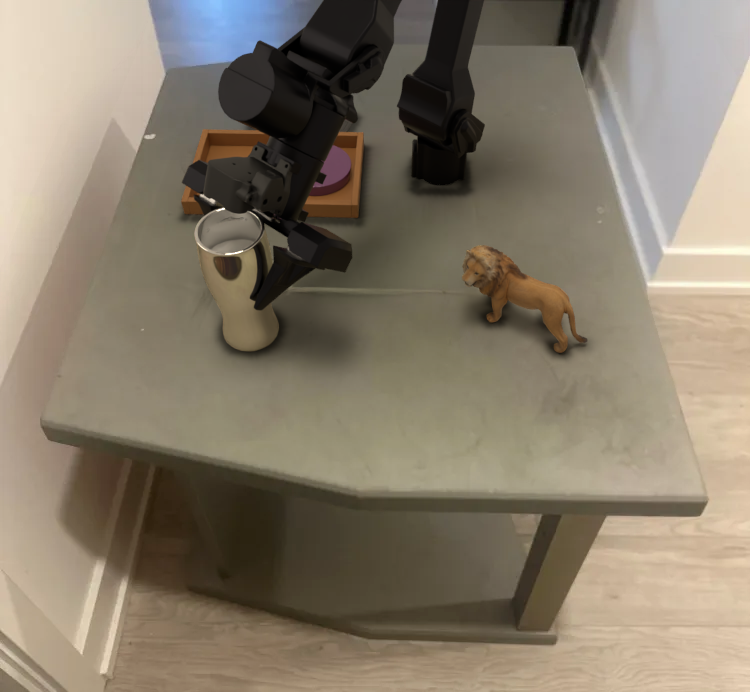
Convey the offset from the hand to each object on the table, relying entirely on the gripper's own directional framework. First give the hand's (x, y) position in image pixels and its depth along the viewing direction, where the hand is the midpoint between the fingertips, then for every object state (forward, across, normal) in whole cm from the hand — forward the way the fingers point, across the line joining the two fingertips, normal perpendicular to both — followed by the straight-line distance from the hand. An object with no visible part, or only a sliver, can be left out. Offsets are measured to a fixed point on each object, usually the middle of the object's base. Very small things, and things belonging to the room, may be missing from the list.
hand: (231, 291), depth 75 cm
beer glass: (+4, 0, +6) cm, 8 cm away
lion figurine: (-9, +22, +20) cm, 31 cm away
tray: (-10, -15, +20) cm, 27 cm away
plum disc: (-13, -12, +22) cm, 28 cm away
